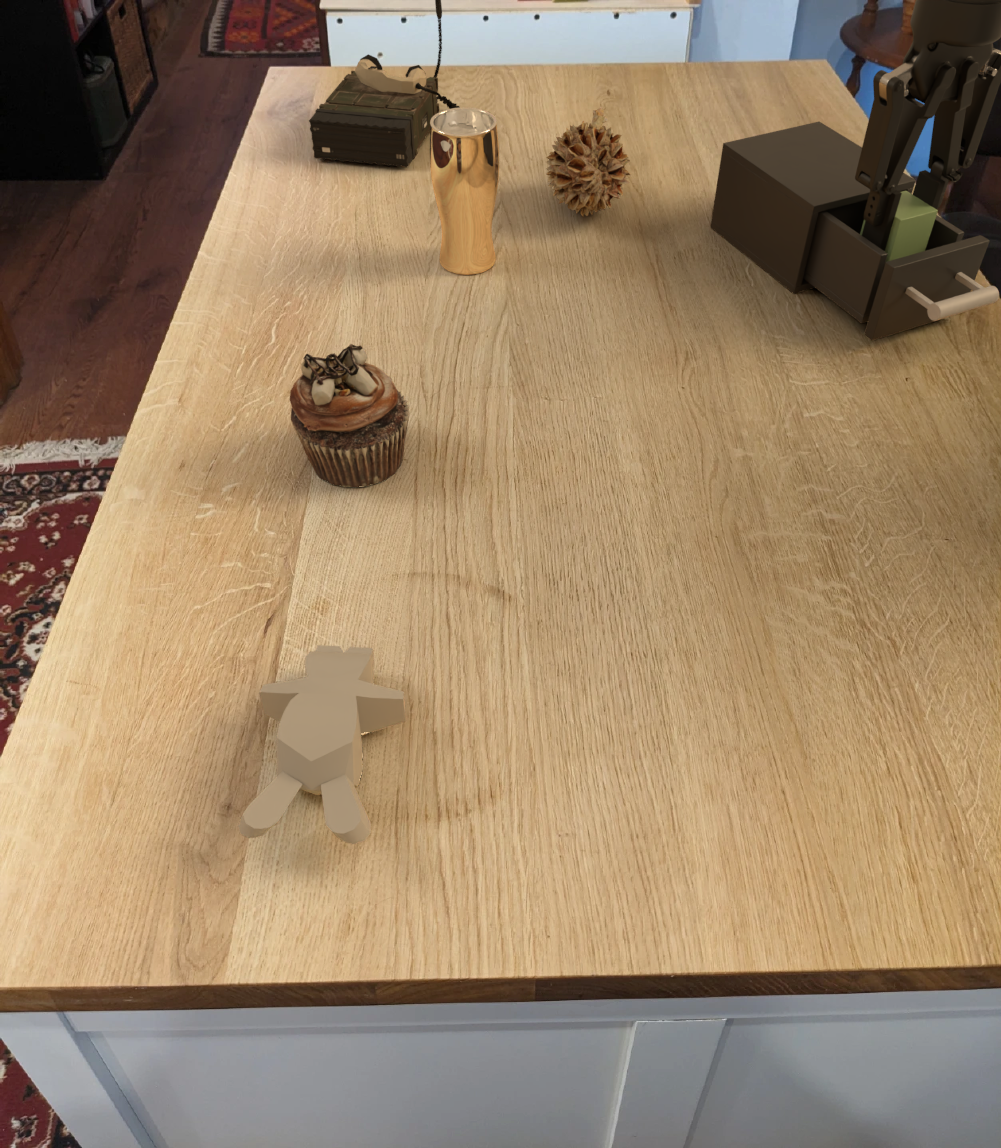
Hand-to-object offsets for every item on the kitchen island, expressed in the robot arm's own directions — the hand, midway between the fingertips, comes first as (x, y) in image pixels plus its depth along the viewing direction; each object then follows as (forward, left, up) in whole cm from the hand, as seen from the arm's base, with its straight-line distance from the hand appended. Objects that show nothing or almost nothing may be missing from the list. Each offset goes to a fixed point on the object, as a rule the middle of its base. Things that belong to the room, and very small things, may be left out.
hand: (891, 246), depth 99 cm
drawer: (-1, 0, -5) cm, 6 cm away
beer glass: (+26, +34, -7) cm, 43 cm away
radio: (+60, +28, -7) cm, 67 cm away
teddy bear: (-28, +68, -7) cm, 74 cm away
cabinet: (+13, 0, -6) cm, 14 cm away
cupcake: (0, +56, -7) cm, 56 cm away
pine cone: (+34, +15, -7) cm, 38 cm away
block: (0, 0, 0) cm, 0 cm away
